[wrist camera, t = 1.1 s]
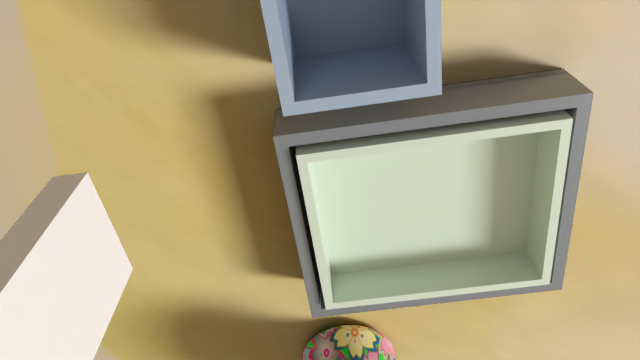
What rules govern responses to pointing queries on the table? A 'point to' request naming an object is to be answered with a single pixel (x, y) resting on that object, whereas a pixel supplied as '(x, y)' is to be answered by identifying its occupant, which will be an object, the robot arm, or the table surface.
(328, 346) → the mug
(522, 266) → the top crate
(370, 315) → the table surface
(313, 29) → the small crate
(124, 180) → the table surface
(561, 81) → the bottom crate
